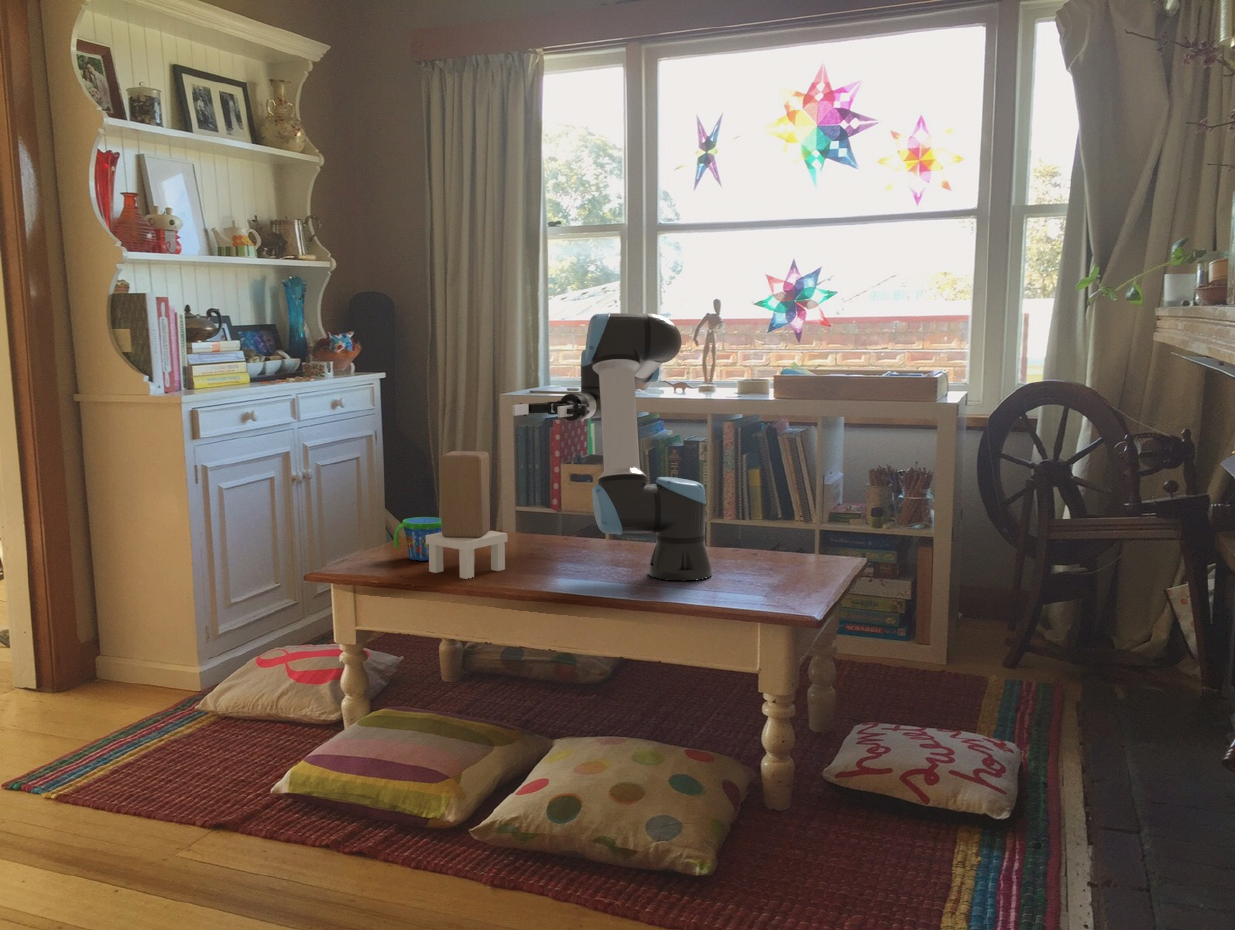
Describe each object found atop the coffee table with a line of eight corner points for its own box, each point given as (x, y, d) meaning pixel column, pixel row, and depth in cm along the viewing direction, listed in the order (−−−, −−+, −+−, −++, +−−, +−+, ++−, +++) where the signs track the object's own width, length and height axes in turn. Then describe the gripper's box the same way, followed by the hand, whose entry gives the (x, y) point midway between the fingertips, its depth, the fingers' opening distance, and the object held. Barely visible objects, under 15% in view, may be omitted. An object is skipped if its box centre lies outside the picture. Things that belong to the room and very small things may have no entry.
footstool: (507, 569, 252) (507, 533, 251) (466, 579, 241) (466, 542, 240) (467, 561, 261) (467, 527, 260) (426, 571, 250) (425, 535, 249)
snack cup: (447, 552, 273) (446, 514, 272) (459, 559, 264) (458, 520, 262) (388, 557, 266) (387, 519, 265) (399, 565, 257) (398, 525, 256)
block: (491, 531, 254) (489, 451, 252) (481, 538, 245) (479, 455, 242) (451, 530, 256) (450, 450, 253) (440, 537, 246) (438, 454, 243)
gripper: (617, 421, 276) (578, 427, 258) (538, 418, 288) (495, 424, 269) (617, 394, 275) (578, 397, 257) (538, 392, 287) (495, 395, 268)
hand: (535, 411), depth 263 cm, fingers open, 13 cm apart
